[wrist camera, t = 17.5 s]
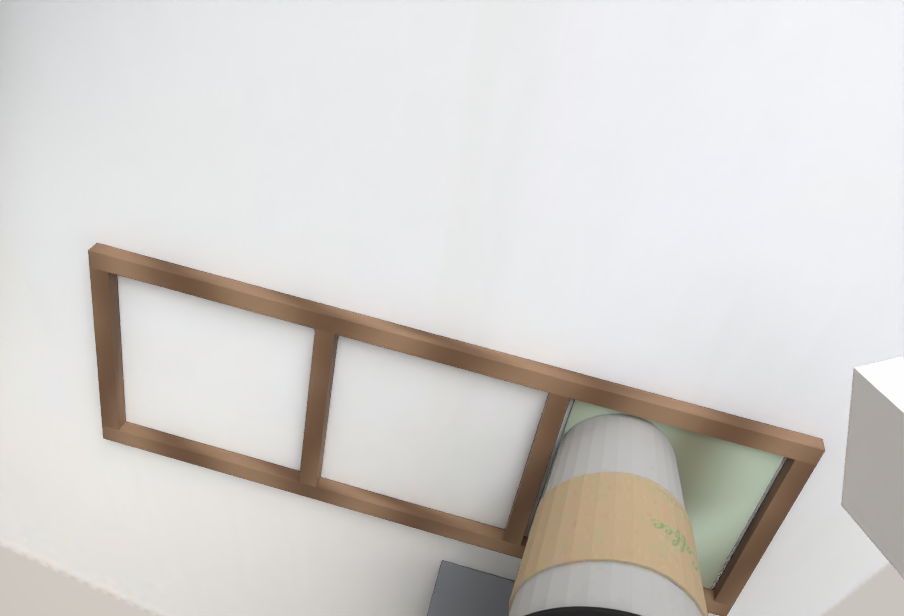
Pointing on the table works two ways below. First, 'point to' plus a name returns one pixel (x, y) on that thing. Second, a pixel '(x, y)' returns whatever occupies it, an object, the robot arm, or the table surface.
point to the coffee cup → (611, 529)
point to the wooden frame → (685, 425)
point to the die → (469, 593)
